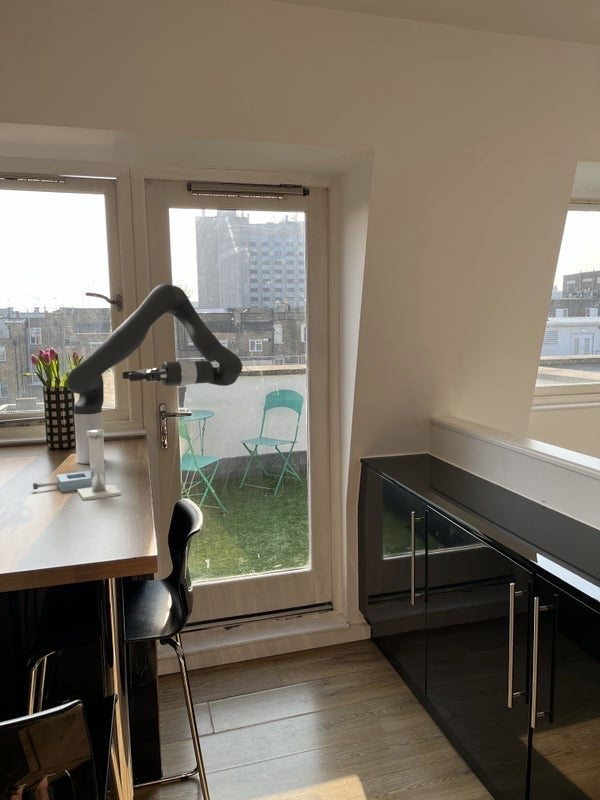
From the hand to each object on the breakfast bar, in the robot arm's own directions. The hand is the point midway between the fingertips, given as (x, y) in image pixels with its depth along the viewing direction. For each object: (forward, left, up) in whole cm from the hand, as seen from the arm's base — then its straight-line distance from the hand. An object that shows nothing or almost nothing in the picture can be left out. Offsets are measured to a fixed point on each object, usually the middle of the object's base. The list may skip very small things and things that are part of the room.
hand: (125, 376), depth 183 cm
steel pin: (+8, -11, -31) cm, 34 cm away
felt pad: (+8, -11, -32) cm, 35 cm away
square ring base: (-4, -19, -32) cm, 37 cm away
